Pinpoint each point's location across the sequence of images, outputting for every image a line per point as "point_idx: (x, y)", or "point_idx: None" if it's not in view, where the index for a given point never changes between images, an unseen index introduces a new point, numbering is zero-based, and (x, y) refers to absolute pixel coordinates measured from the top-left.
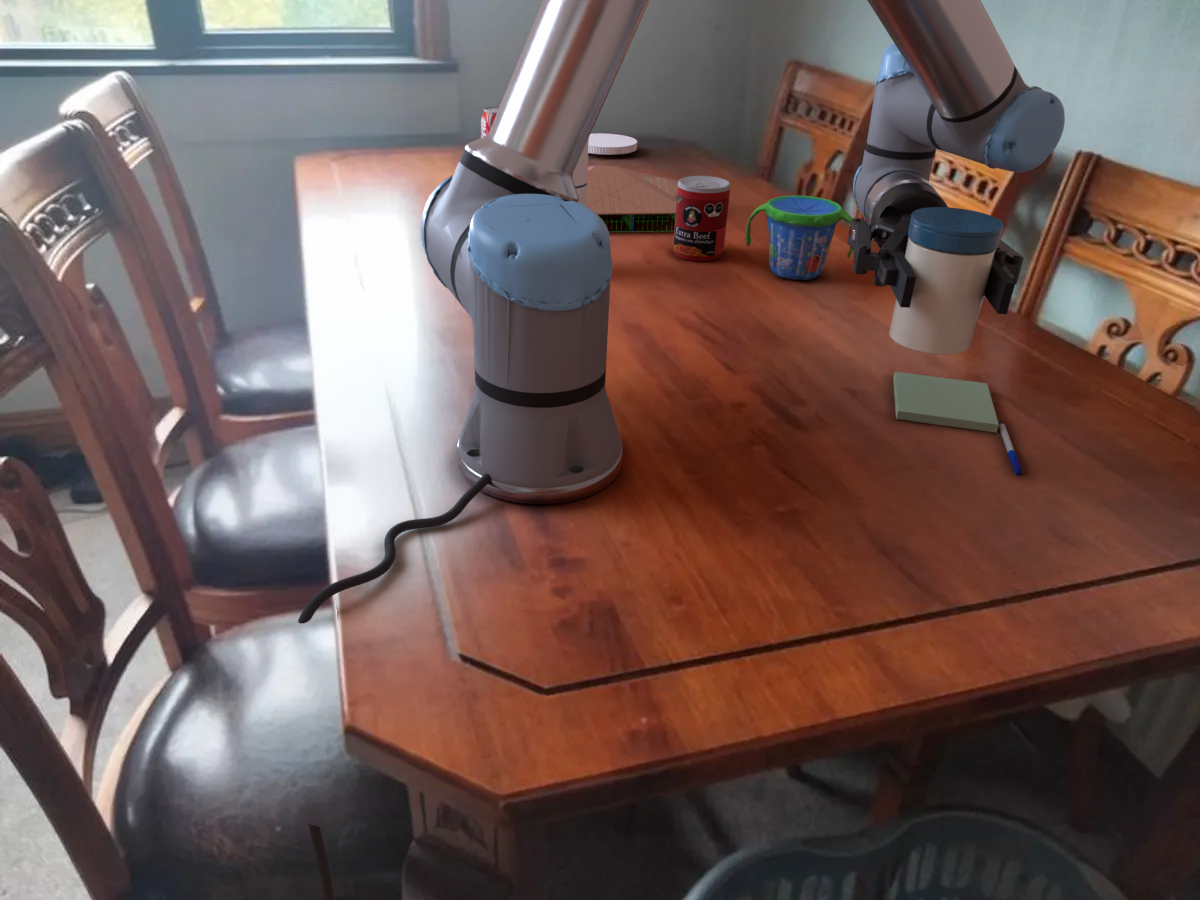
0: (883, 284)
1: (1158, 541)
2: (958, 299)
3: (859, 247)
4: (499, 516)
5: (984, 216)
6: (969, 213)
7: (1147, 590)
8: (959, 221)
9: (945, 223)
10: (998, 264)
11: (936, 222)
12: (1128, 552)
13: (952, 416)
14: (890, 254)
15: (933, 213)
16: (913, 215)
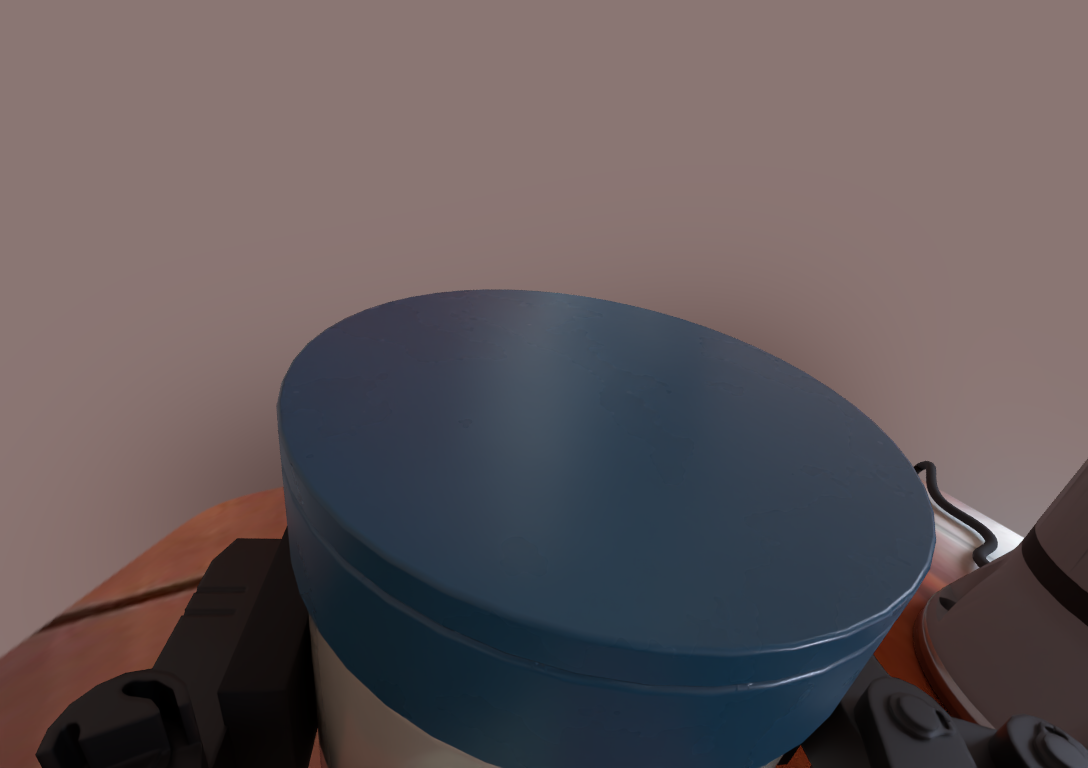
0: None
1: (35, 679)
2: None
3: (1067, 735)
4: (951, 582)
5: (378, 428)
6: (495, 479)
7: (196, 559)
8: (588, 361)
9: (657, 342)
10: (275, 571)
11: (701, 350)
12: (140, 636)
13: None
14: (864, 695)
15: (776, 454)
16: (858, 412)
